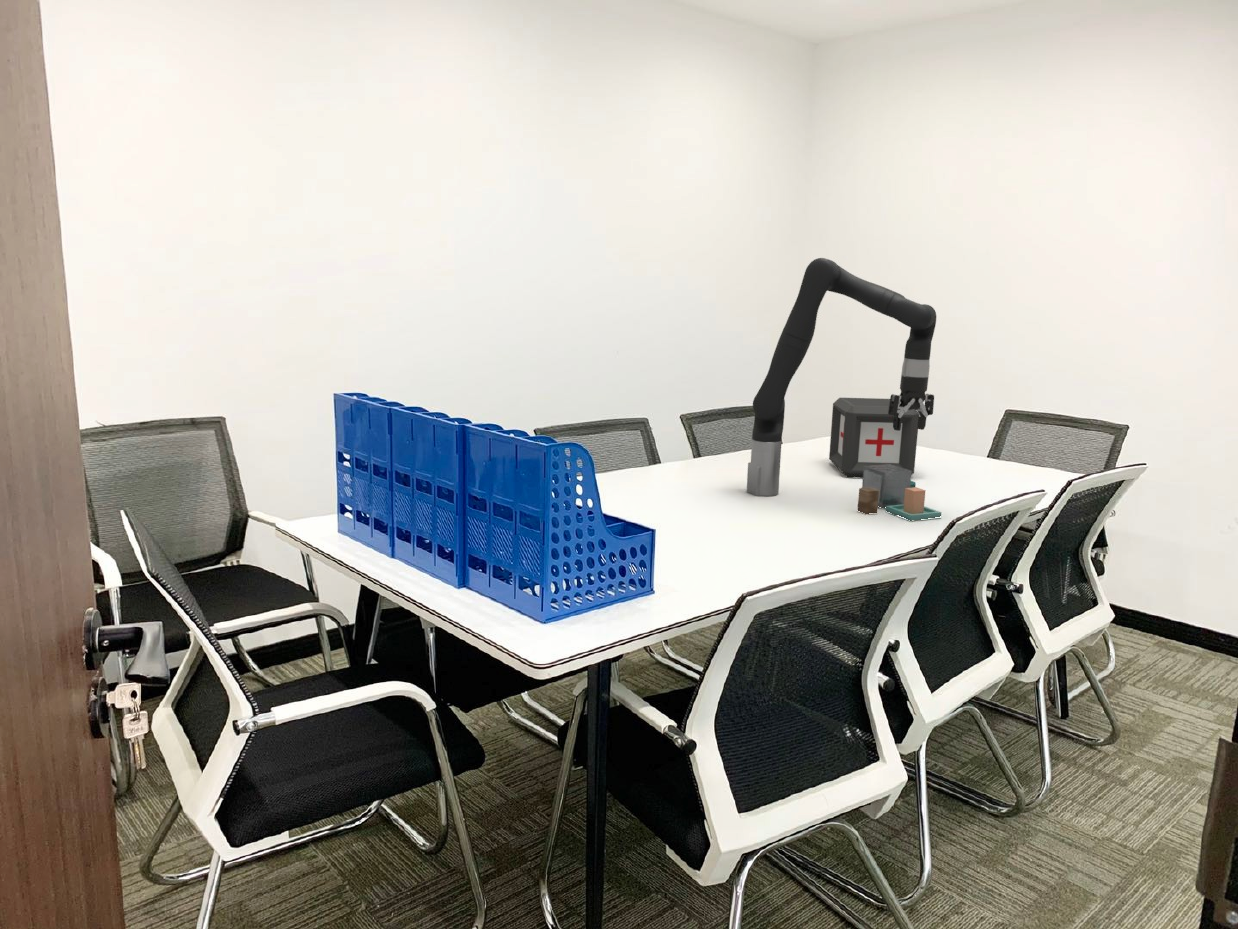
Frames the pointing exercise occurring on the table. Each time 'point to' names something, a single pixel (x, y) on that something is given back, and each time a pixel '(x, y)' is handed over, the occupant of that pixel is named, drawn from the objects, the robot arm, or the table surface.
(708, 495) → the table surface
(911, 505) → the terracotta block
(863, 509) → the walnut block
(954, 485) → the table surface
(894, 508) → the teal tray
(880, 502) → the grey unit
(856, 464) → the first aid kit
